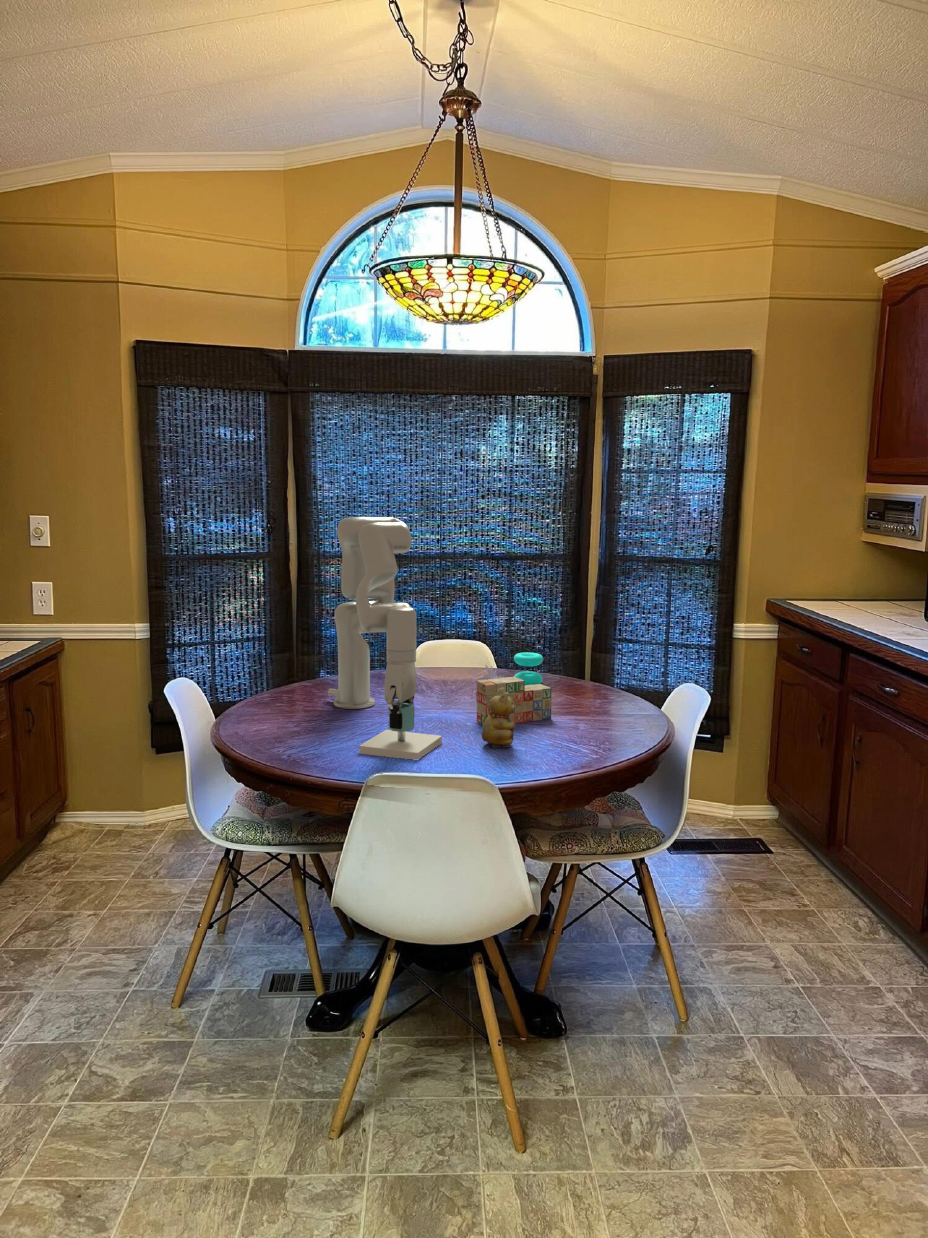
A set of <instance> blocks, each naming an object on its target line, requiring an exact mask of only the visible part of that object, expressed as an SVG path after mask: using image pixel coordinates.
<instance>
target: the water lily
mask: <svg viewBox="0 0 928 1238" xmlns="http://www.w3.org/2000/svg"><path fill="white" fill-rule="evenodd" d="M485 670H486V675H487V677H488V679H497V678H504V676H503V675H499V676H498V675H497V672H498V671H497V669H495V670H494V667H493V666H492V665H491V667H490V668H489V667H488V666H487V665H485Z"/></svg>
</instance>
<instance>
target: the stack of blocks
mask: <svg viewBox="0 0 928 1238" xmlns="http://www.w3.org/2000/svg"><path fill="white" fill-rule="evenodd" d="M500 688H504V689H505V690H504V692H509V697H510V698H511V699H512V701H513V702H514V705H515V710H514V711H513V713H512V714H510V715H509V718H510V720H511V722H512V723H514V724H517V723H526V722H527V723H528V722H534V721H541V720H543V721H544V720H550V719H552V687H549V686H547V685H544V684H542V683H540V684H535V685H525V681H524V680H521V679H519V678H516V677H514V676H509V677H508V676H507V677H503V678H497V679H489V678H488V679H479V680H476V722H477V723H478V724H480V723H481V725H482V726H483V725H484V723H485V721H486V720H487V717H488V715H489V713H490V711H491V710H490V701H491V699H492V698H493V697H495V695H496V692H497V691H498V690H499V689H500Z"/></svg>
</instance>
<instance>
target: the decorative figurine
mask: <svg viewBox="0 0 928 1238" xmlns="http://www.w3.org/2000/svg"><path fill="white" fill-rule="evenodd" d="M504 690H505V689H504V688H500V689H499V690H498V691H497V692H496V695H495V697H493V698H492V699H491V701H490V710H491V711H490V713H489V715H488V717H487V720H486V721H485V723H484V725H482V733H481V738H482V741H483V742H487V743H488V744H490V746H491V748H510V747H511V745H512V744H513V741H514V731H515V730H516V729H515V728H516V723H512V722H511V720H510V718H509V715H510V714H512V713H513V711H514V710H515V705H514V702H513V701H512V699H511V698H510V697H509V692H504Z"/></svg>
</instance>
